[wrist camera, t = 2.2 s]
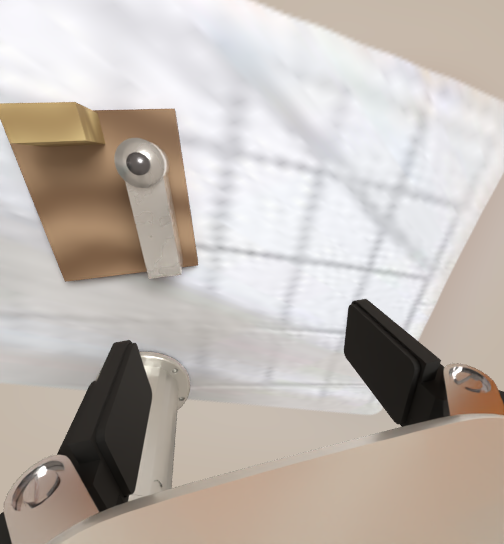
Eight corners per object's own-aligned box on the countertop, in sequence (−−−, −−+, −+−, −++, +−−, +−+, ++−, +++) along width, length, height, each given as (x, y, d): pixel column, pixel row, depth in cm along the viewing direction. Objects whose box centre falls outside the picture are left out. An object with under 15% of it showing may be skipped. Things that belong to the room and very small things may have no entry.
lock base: (197, 260, 31) (198, 282, 25) (71, 275, 28) (41, 302, 23) (175, 111, 24) (169, 97, 19) (9, 115, 22) (-51, 100, 17)
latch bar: (124, 142, 23) (105, 137, 18) (165, 141, 23) (157, 135, 19) (152, 264, 28) (143, 285, 23) (185, 260, 28) (183, 280, 23)
